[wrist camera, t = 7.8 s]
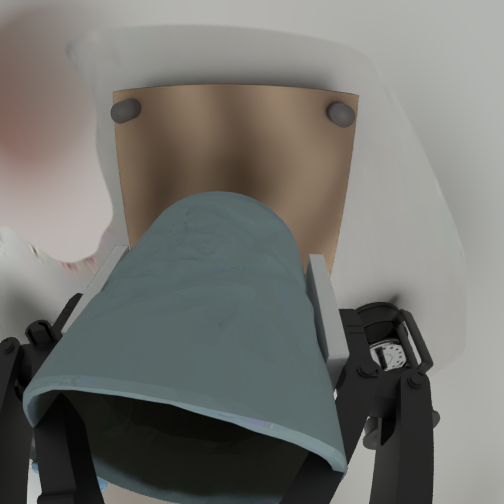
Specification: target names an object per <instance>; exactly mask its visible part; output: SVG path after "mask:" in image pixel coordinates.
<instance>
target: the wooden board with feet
mask: <svg viewBox="0 0 504 504" xmlns="http://www.w3.org/2000/svg"><path fill="white" fill-rule="evenodd" d="M358 100H359V95H355V94H351V93H344V92H337V91H329V90H320V89H311V88H301V87H289V86H274V85H252V84H194V85H173V86H158V87H146V88H136V89H127V90H119V91H115V92H113V107H112V109H111V117H112V119H113V120H114V122H115V135H116V147H117V157H118V166H119V175H120V183H121V191H122V198H123V205H124V212H125V218H126V225H127V231H128V237H129V242H130V248H132V247H133V246H135V245H136V244H137V242H138V241H139V240H140V238H141V237H142V236H143V235H144V233H145V232H146V231H147V230H148V228H149V227H150V226H151V225H152V224H153V222H154V221H155V220H156V219H157V218H158V217H159V216H160V215H161V214H162V212H163V211H164V210H166V209H167V208H168V207H170V206H171V205H173V204H174V203H176V202H177V201H179V200H182V199H184V198H186V197H188V196H191V195H194V194H199V193H204V192H213V191H222V192H233V193H238V194H242V195H245V196H248V197H251V198H253V199H255V200H257V201H259V202H260V203H262V204H264V205H266V206H267V207H269V208H270V209H271V210H273V211H274V212H275V213H276V214H277V215H278V216H279V217H280V218H281V219H282V220H283V221H284V222H285V224H286V225H287V226H288V228H289V229H290V231H291V232H292V234H293V236H294V238H295V241H296V244H297V247H298V250H299V254H300V257H301V260H302V264H303V268H304V273H305V277H306V270H307V264H308V258H309V254H321V255H324V258H325V262H326V265H327V269H328V272H329V276H330V277H331V272H332V267H333V262H334V257H335V252H336V247H337V242H338V237H339V232H340V226H341V221H342V215H343V209H344V203H345V197H346V191H347V185H348V178H349V172H350V165H351V158H352V151H353V143H354V135H355V127H356V118H357V109H358Z"/></svg>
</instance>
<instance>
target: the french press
mask: <svg viewBox="0 0 504 504" xmlns="http://www.w3.org/2000/svg"><path fill="white" fill-rule="evenodd" d="M355 312H356V313H357V314H358V315H359V316H360V319H361V322H362V325H363V326H362V327H363V328H366V327H368V326H370V325H373V324H376V323H380V322H392V324H393V326H394V328H393V330H392V332H391V333H390V334H389V335H388V336H387V337H386V338H385V339H382V340H378V341H376V342H373V343H371V344H369V348H370V352H371V355H372V358H373V361H375V362H377V363H378V364H379V366H380V367H381V369H382V370H384V371H387V372H391V373H396V374H400V375H402V373H403V372H404V371H405V370H407V369H412V368H415V369H418V370H421V371H422V372H424V373H426V372H427V371H428V370H429V369H430V368H431V367H432V366H433V361H432V358H431V356H430V354H429V351H428V349H427V347H426V345H425V342H424V340H423V338H422V336H421V333H420V331H419V329H418V327H417V325H416V323H415V320H414V318H413V316H412V314H411V313H410V312H408V311H405V310H403V309H400V310H399V309H398V308H397V307H396V306H394V305H392V304H389V303H383V302H378V303H371V304H367V305H365V306H362V307H360V308H358V309H356V310H355ZM404 320H405V323H406V325H407V327H408V329H409V332H410V334H411V336H412V339H413V341H414V343H415V346H416V348H417V351H418V353H419V356H420V358H421V364H420V365H418V362H417V360H416V357H415V354H414V352H413V348H412V347H411V344H410V342H409V340H408V332H407V329H406V326H405V324H404ZM368 416H369V415H368ZM432 416H433V428H434V427H435V426H436V425H437V424H438V422H439V420H440V415H439V413H438V412H437V411H434V410H433V407H432ZM369 417H370V418H369V419H368V420H367V421H366V423H365V426H364V430H365V437H364V438H363V445H364V447H366V448H368V449H372V450H376V444H377V431H378V417H373V416H369Z"/></svg>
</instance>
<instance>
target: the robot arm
mask: <svg viewBox="0 0 504 504" xmlns="http://www.w3.org/2000/svg"><path fill="white" fill-rule="evenodd" d="M128 253H129V248H128V246H120V245H116V246H115V247H114V249H113V250H112V251H111V253H110V254H109V256H108V257H107V259H106V260H105V262H104V263H103V265H102V266H101V268H100V269H99V271H98V272H97V274H96V275H95V277H94V278H93V280H92V281H91V283H90V284H89V286H88V288H87V289H86V291H85V292H84V294H81V293H77V294H76V295H74V296H73V297H72V298H71V299H70V300H69V301H68V303H67V304H66V306H65V308H64V309H63V311H62V312H61V314H60V315H59V317H58V319H57V320H56V322H55V323H54V325H53V327H51V324H50V323H49V322H48V321H46V320H38V321H35V322H33V323H32V324H30V325H29V326H28V328H27V329H26V332H25V334H26V336H27V338H28V340H29V341H30V343H31V344H24V345H21V344H20V342H19V341H18V339H16V338H14V337H9V338H6V339H4V340H3V341H2V342H1V343H0V504H27V483H28V470H29V459H32V460H33V462H32V469H33V471H34V472H36V473H38V474H39V477H40V483H41V488H42V493H41V495H40V496H39V497H38V499H37V504H105V503H104V500H103V497H102V493H101V491H103V490H105V489H106V487H107V485H108V482H107V481H105V480H103V479H101V478H99V477H97V475H96V472H95V468H94V464H93V460H92V456H91V451H90V447H89V442H88V437H87V433H86V427H85V424H84V421H83V420H82V418H81V417H80V415H79V414H78V412H77V410H76V409H75V408H74V406H73V405H72V403H71V402H70V401H69V399H68V398H67V397H66V396H65V395H64V394H63V393H61V392H60V394H59V395H58V396H57V398H56V399H55V400H54V402H53V403H52V405H51V406H50V407H49V409H48V410H47V411H46V413H45V414H44V416H43V417H42V418H41V420H40V421H39V422H38V424H37V425H36V426H35V427H34V426H33V427H34V428H33V427H32V426H31V425H30V423H29V421H28V419H27V417H26V415H25V412H24V410H23V393H24V391H25V390H26V388H27V386H28V385H29V383H30V382H31V380H32V379H33V378H34V376H35V375H36V373H37V372H38V370H39V369H40V367H41V366H42V364H43V363H44V362H45V360H46V359H47V357H48V356H49V355H50V353H51V352H52V350H53V349H54V348H55V346H56V345H57V343H58V342H59V341H60V340H61V338H62V337H63V336H64V334H65V333H66V332H67V330H68V328H69V327H70V326H71V324H72V323H73V322H74V321H75V319H76V318H77V317H78V316H79V315H80V313H81V312H82V310H83V309H84V308H85V307H86V306H87V304H88V303H89V302H90V300H91V299H92V298H93V297H94V296H95V295H96V294H98V293H99V292H103V291H104V289H105V288H106V286H107V285H108V277H109V275H110V274H111V273H112V272H113V271H114V270H115V269H116V268H117V266H118V264H119V263H120V262H121V261H122V260H123V259H124V258H125V257H126V255H127V254H128ZM305 278H306V284H307V289H308V292H307V296H308V298H309V300H310V302H311V304H312V306H313V308H314V324H315V327H316V336H317V342H318V345H319V347H320V350H321V353H322V356H323V359H324V361H325V364H326V367H327V370H328V374H329V377H330V381H331V384H332V389H333V393H334V391H335V389H336V391H337V398H336V400H335V405H336V411H337V415H338V420H339V425H340V430H341V435H342V440H343V446H344V451H345V456H346V461H347V466H348V464H349V462H350V459H351V457H352V455H353V453H354V450H355V448H356V445H357V443H358V440H359V438H360V436H361V433H362V431H363V428H364V426H365V423H366V420H367V417H368V415H369V416H373V417H378V431H377V444H376V455H375V464H374V473H373V481H372V489H371V495H370V502H369V504H432V498H433V475H434V473H433V472H434V443H433V416H432V401H431V390H430V381H429V378H428V377H427V375H426V374H425V373H424V372H422V371H421V370H418V369H415V368H412V369H407V370H405V371H404V372H403V373H402V375H400V374H396V373H391V372H387V371H384V370H382V369H381V367H380V366H379V364H378V363H377V362H375V361H373V358H372V355H371V352H370V348H369V345H368V342H367V338H366V335H365V332H364V328H363V327H362V326H363V325H362V322H361V319H360V316H359V315H358V314H357V313H356V312H355V310H354V309H338V306H337V302H336V298H335V294H334V291H333V287H332V283H331V280H330V276H329V272H328V269H327V265H326V262H325V258H324V255H321V254H309V258H308V264H307V270H306V277H305ZM344 473H345V472H344ZM344 473H343V472H339V471H335V470H333V469H332V466H331V465H330V464H329V462H328V461H327V460H326V459H324V458H323V457H321V456H320V455H318V454H316V453H314V452H312V451H310V452H309V454H308V455H307V457H306V459H305V461H304V463H303V464H302V466H301V468H300V470H299V471H298V473H297V475H296V477H295V478H294V480H293V482H292V483H291V485H290V487H289V488H288V490H287V492H286V493H285V495H284V497H283V498H282V500H281V501H280V503H279V504H329V503H330V501H331V499H332V498H333V495H334V494H335V492H336V489H337V487H338V485H339V483H340V481H341V479H342V477H343V475H344Z"/></svg>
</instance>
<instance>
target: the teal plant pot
mask: <svg viewBox="0 0 504 504" xmlns="http://www.w3.org/2000/svg"><path fill="white" fill-rule="evenodd" d="M307 292H308V289H307V284H306V278H305V273H304V268H303V264H302V260H301V257H300V254H299V250H298V247H297V244H296V241H295V238H294V236H293V234H292V232H291V231H290V229H289V228H288V226H287V225H286V224H285V222H284V221H283V220H282V219H281V218H280V217H279V216H278V215H277V214H276V213H275V212H274V211H273V210H271V209H270V208H269V207H267V206H266V205H264V204H262V203H260V202H259V201H257V200H255V199H253V198H251V197H248V196H245V195H242V194H238V193H233V192H222V191H213V192H204V193H199V194H194V195H191V196H188V197H186V198H184V199H182V200H179V201H177V202H176V203H174V204H173V205H171V206H170V207H168V208H167V209H166V210H164V211H163V212H162V214H161V215H160V216H159V217H158V218H157V219H156V220H155V221H154V222H153V224H152V225H151V226H150V227H149V228H148V230H147V231H146V232H145V233H144V235H143V236H142V237H141V238H140V240H139V241H138V242H137V244H136V245H135V246H133V247H132V248H131V250H130V251H129V253H128V254H127V255H126V257H125V258H124V259H123V260H122V261H121V262H120V263H119V264H118V266H117V268H116V269H115V270H114V271H113V272H112V273H111V274H110V275H109V277H108V285H107V286H106V288H105V289H104V291H103V292H99V293H98V294H96V295H95V296H94V297H93V298H92V299H91V300H90V302H89V303H88V304H87V306H86V307H85V308H84V309H83V310H82V312H81V313H80V315H79V316H78V317H77V318H76V319H75V321H74V322H73V323H72V324H71V326H70V327H69V328H68V330H67V332H66V333H65V334H64V336H63V337H62V338H61V340H60V341H59V342H58V343H57V345H56V346H55V348H54V349H53V350H52V352H51V353H50V355H49V356H48V357H47V359H46V360H45V362H44V363H43V364H42V366H41V367H40V369H39V370H38V372H37V373H36V375H35V376H34V378H33V379H32V380H31V382H30V383H29V385H28V386H27V388H26V390H25V391H24V393H23V410H24V412H25V415H26V417H27V419H28V421H29V423H30V425H31V426H32V427H33V426H34V427H35V426H36V425H37V424H38V422H39V421H40V420H41V418H42V417H43V416H44V414H45V413H46V411H47V410H48V409H49V407H50V406H51V405H52V403H53V402H54V400H55V399H56V398H57V396H58V395H59V394H60V392H61V393H63V394H64V395H65V396H66V397H67V398H68V399H69V401H70V402H71V403H72V405H73V406H74V408H75V409H76V410H77V412H78V414H79V415H80V417H81V418H82V420H83V421H84V424H85V427H86V433H87V437H88V442H89V447H90V451H91V456H92V460H93V464H94V468H95V472H96V475H97V477H99V478H101V479H103V480H105V481H107V482H110V483H112V484H114V485H117V486H119V487H122V488H125V489H127V490H130V491H133V492H135V493H138V494H141V495H145V496H148V497H152V498H156V499H159V500H163V501H167V502H172V503H177V504H279V503H280V501H281V500H282V498H283V497H284V495H285V493H286V492H287V490H288V488H289V487H290V485H291V483H292V482H293V480H294V478H295V477H296V475H297V473H298V471H299V470H300V468H301V466H302V464H303V463H304V461H305V459H306V457H307V455H308V454H309V452H310V451H312V452H314V453H316V454H318V455H320V456H321V457H323V458H324V459H326V460H327V461H328V462H329V464H330V465H331V466H332V469H333V470H335V471H339V472H343V473H344V472H345V473H344V475H343V477H342V479H343V478H344V476H345V475H346V473H347V469H348V467H347V461H346V456H345V451H344V446H343V440H342V435H341V430H340V425H339V420H338V415H337V411H336V405H335V400H334V394H333V389H332V384H331V381H330V377H329V374H328V370H327V367H326V364H325V361H324V359H323V356H322V353H321V350H320V347H319V345H318V342H317V336H316V327H315V324H314V308H313V306H312V304H311V302H310V300H309V298H308V296H307ZM34 427H33V428H34ZM342 479H341V480H342ZM340 482H341V481H340Z"/></svg>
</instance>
